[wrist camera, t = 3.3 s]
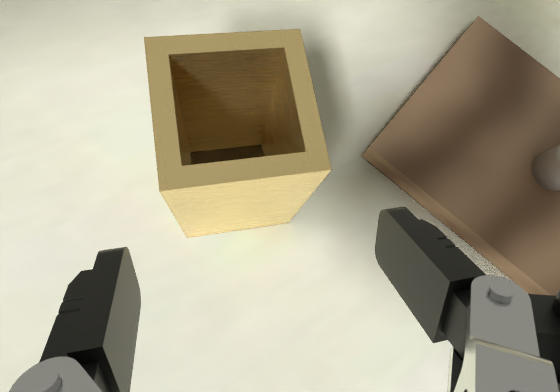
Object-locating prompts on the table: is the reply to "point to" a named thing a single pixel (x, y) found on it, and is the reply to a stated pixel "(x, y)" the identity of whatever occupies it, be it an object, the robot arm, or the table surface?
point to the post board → (485, 154)
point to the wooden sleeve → (234, 127)
